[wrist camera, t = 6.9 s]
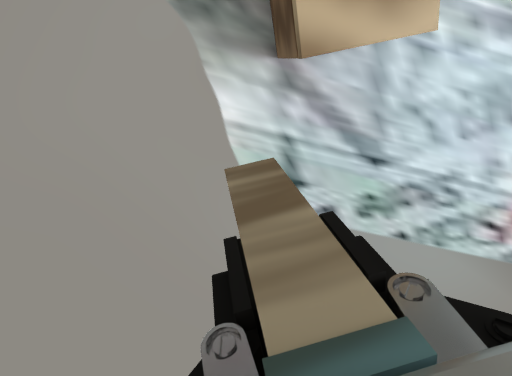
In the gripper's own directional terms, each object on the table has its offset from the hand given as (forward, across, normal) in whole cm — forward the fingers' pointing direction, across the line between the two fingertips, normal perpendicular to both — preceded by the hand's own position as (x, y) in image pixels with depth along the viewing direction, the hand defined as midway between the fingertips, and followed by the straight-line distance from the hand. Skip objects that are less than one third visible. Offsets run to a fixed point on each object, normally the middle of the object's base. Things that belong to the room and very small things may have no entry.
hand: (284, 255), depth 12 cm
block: (+8, 0, 0) cm, 8 cm away
